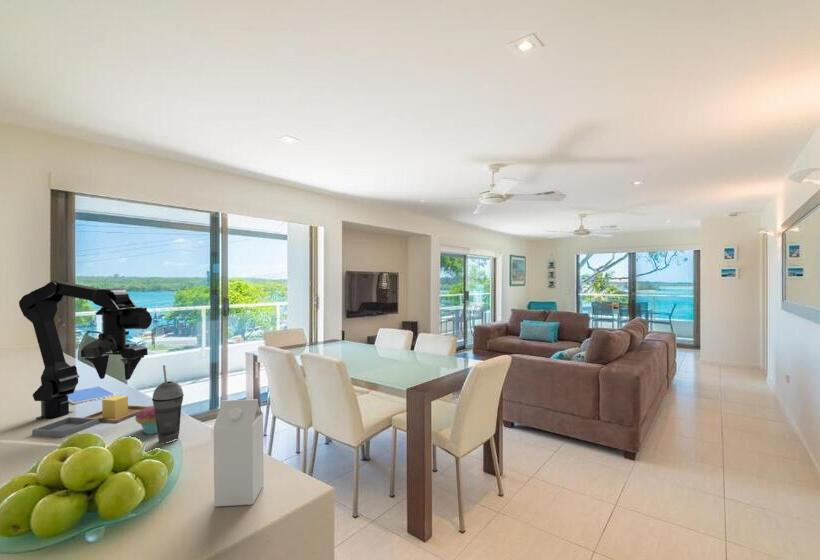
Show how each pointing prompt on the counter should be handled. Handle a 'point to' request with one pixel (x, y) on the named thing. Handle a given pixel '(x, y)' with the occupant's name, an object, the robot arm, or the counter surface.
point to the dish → (65, 427)
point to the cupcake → (147, 420)
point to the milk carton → (238, 453)
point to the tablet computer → (88, 395)
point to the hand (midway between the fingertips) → (114, 379)
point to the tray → (131, 412)
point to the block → (115, 406)
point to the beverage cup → (168, 409)
